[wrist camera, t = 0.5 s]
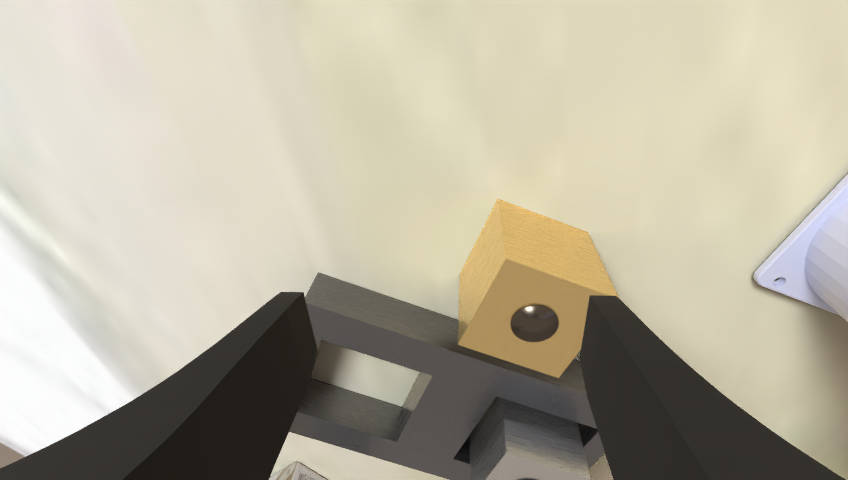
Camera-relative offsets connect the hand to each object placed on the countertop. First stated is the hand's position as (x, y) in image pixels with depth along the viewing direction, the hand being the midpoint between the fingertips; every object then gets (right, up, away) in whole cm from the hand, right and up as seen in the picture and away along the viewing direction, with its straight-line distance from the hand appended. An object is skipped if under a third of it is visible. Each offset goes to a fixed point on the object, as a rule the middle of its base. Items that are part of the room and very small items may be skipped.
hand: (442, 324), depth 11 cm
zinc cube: (+5, -8, +15) cm, 18 cm away
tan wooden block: (+4, +1, +10) cm, 11 cm away
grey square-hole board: (+1, -7, +15) cm, 16 cm away
